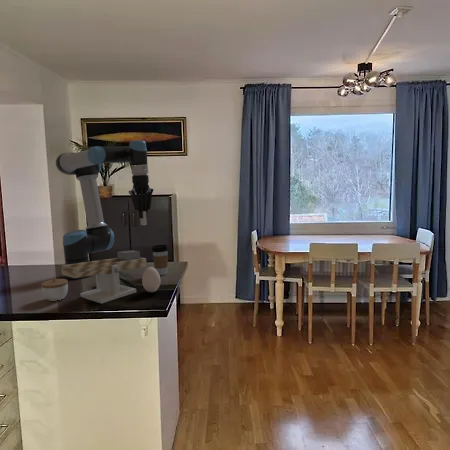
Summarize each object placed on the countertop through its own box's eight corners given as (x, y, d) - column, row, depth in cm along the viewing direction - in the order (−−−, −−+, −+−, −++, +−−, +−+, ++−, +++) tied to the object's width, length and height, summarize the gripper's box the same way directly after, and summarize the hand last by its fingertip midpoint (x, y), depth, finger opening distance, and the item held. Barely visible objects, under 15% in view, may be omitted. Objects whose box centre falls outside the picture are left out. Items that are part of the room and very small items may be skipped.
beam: (74, 278, 164) (74, 268, 163) (61, 274, 170) (61, 265, 170) (146, 266, 191) (146, 257, 191) (132, 263, 198) (132, 255, 197)
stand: (101, 303, 170) (98, 270, 168) (80, 296, 181) (77, 265, 179) (136, 292, 184) (134, 261, 182) (114, 286, 194) (112, 257, 192)
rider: (125, 264, 185) (125, 253, 184) (117, 262, 188) (117, 251, 188) (139, 262, 191) (139, 251, 190) (131, 260, 194) (131, 250, 194)
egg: (145, 296, 178) (143, 270, 176) (141, 291, 185) (139, 266, 183) (163, 293, 181) (161, 267, 179) (158, 288, 188) (157, 264, 187)
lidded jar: (47, 296, 183) (45, 275, 182) (72, 294, 184) (70, 274, 183) (39, 304, 173) (36, 282, 171) (65, 302, 174) (63, 281, 172)
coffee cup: (166, 276, 208) (164, 247, 206) (150, 275, 210) (148, 247, 208) (172, 271, 216) (170, 243, 214) (156, 271, 218) (154, 243, 216)
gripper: (133, 175, 184) (137, 227, 187) (156, 173, 194) (159, 223, 197) (123, 175, 189) (127, 226, 192) (146, 174, 198) (149, 222, 202)
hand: (143, 224), depth 195 cm, fingers closed
